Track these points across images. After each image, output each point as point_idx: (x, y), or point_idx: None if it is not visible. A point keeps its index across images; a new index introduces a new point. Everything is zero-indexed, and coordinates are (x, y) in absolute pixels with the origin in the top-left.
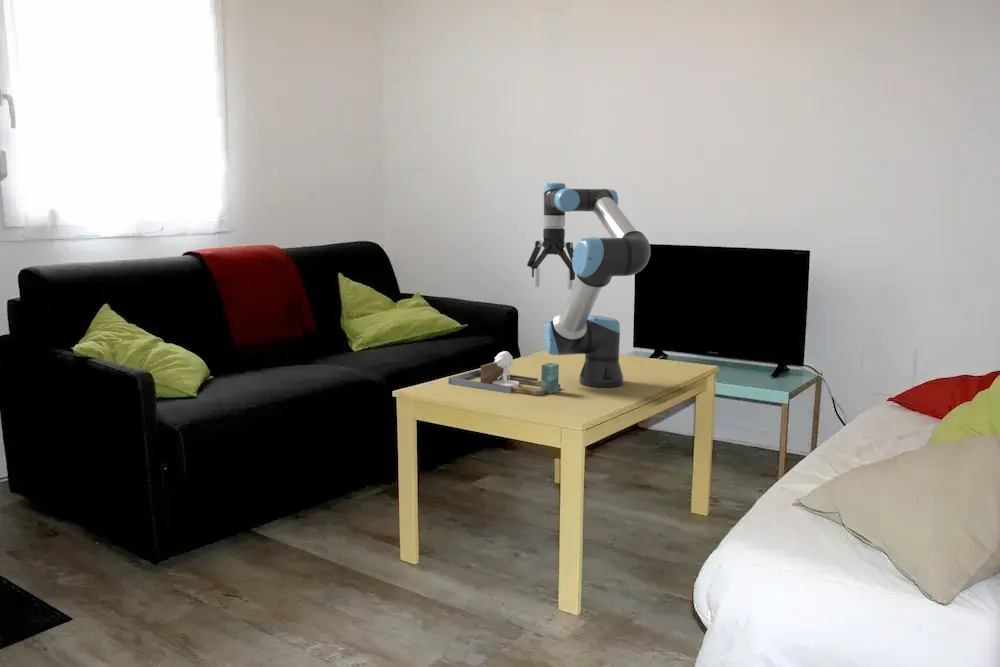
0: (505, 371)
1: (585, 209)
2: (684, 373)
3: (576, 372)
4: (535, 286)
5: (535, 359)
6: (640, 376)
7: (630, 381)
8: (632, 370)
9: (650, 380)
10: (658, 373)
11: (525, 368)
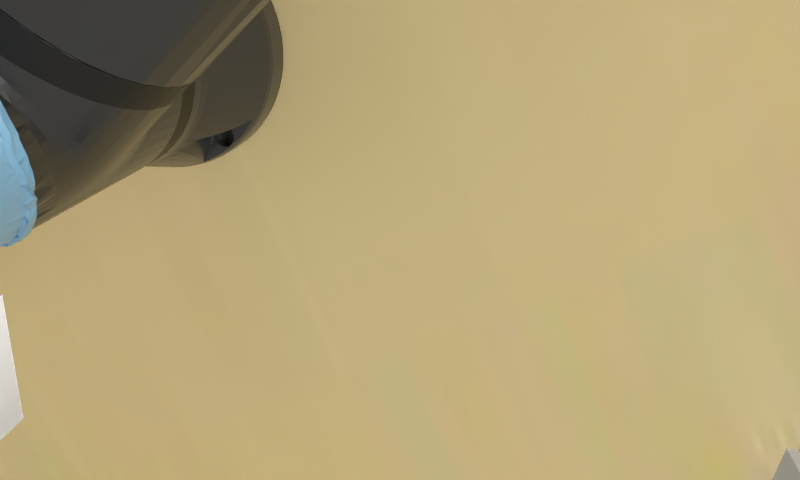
0: None
1: None
2: None
3: (391, 239)
4: (792, 463)
5: (712, 457)
6: (103, 276)
7: None
8: (190, 380)
9: None
10: (77, 362)
11: (696, 222)
